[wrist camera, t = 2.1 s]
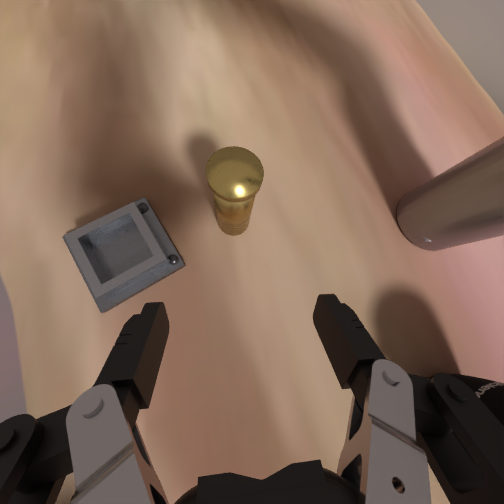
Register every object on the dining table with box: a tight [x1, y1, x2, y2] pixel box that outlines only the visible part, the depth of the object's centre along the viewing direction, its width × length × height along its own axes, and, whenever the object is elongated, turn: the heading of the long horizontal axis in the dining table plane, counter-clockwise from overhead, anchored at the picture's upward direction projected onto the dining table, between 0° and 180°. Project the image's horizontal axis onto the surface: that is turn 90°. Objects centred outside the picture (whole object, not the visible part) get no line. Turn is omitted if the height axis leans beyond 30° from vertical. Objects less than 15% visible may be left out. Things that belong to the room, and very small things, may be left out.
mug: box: [430, 374, 504, 476], centre depth 19 cm, size 12×9×10 cm
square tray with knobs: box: [63, 197, 186, 313], centre depth 23 cm, size 10×10×3 cm
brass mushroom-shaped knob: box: [206, 146, 264, 236], centre depth 22 cm, size 5×5×11 cm
